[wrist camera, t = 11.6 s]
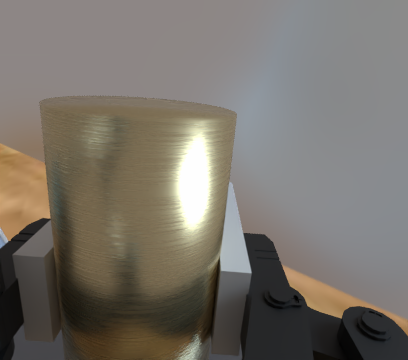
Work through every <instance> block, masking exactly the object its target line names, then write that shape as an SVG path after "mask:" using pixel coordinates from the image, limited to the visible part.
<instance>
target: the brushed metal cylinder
mask: <svg viewBox="0 0 408 360" xmlns="http://www.w3.org/2000/svg"><path fill="white" fill-rule="evenodd" d="M40 113H41V123H42V133H43V143H44V154H45V165H46V175H47V185H48V196H49V206H50V216H51V227H52V237H53V247H54V258H55V268H56V278H57V288H58V299H59V309H60V319H61V330H62V340H63V350H64V360H209V352H210V344H211V331H212V322H213V313H214V304H215V296H216V287H217V278H218V270H219V261H220V254H221V248H222V239H223V231H224V222H225V213H226V205H227V196H228V187H229V178H230V169H231V161H232V152H233V144H234V135H235V126H236V118H237V114H236V113H235V112H234V111H231V110H228V109H225V108H221V107H217V106H212V105H206V104H199V103H192V102H185V101H176V100H167V99H155V98H141V97H122V96H68V97H55V98H49V99H44V100H42V101H40Z"/></svg>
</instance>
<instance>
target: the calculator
mask: <svg viewBox="0 0 408 360" xmlns="http://www.w3.org/2000/svg"><path fill="white" fill-rule="evenodd" d="M7 242H8V240H7V238H6V236H5V235H4V233H3V231H2V229H1V228H0V248H1V247H2V246H4V245H5V244H6V243H7Z"/></svg>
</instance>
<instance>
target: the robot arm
mask: <svg viewBox="0 0 408 360" xmlns="http://www.w3.org/2000/svg"><path fill="white" fill-rule="evenodd" d="M22 325H23V328H24V334H25V340H27V341H41V342H54V340H55V338H56V337H57V335H58V333H59V332H60V330H61V319H60V309H59V299H58V288H57V278H56V268H55V258H54V247H53V237H52V227H51V219H46V218H42V219H40V220H38V221H35V222H33V223H31V224H29V225H27V226H26V227H25V228H24V229H23V230H22V231H20V232H19V234H17V235H16V236H14V237H13V238H12V239H11V241H8V242H7V243H6V244H5V245H4V246H2V247H1V248H0V360H11V359H12V357H13V354H14V349H15V344H14V338H13V337H14V335H15V334H16V333H17V331H18V330H19V329H20V327H21V326H22ZM240 344H241V350H242V360H408V336H407V335H406V334H405V332H404V331H403V330H402V329H401V328H400V327H399V326H398V325H397V324H396V323H395V322H394V321H393V320H392V319H390V318H389V317H387V316H386V315H384V314H382V313H380V312H378V311H375V310H373V309H371V308H365V307H360V306H357V307H350V308H348V309H346V310H345V311H344V313H343V316H342V319H340V318H337V317H334V316H331V315H328V314H324V313H321V312H319V311H316V310H313V309H311V308H310V307H308V306H307V304H306V302H305V299H304V297H303V296H302V295H301V294H300V293H299V292H298V291H297V290H295V289H293V288H292V287H290V285H289V283H288V280H287V278H286V275H285V272H284V270H283V267H282V265H281V262H280V261H279V257H278V254H277V253H276V249H275V247H274V244H273V242H272V241H271V240H270V239H269V238H268V237H267V236H265V235H262V234H250V233H243V231H242V226H241V222H240V217H239V212H238V208H237V203H236V198H235V194H234V189H233V185H232V183H230V182H229V187H228V196H227V205H226V213H225V222H224V231H223V239H222V248H221V254H220V261H219V270H218V278H217V287H216V296H215V304H214V313H213V322H212V331H211V354H219V355H233V356H239V350H240Z"/></svg>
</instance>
